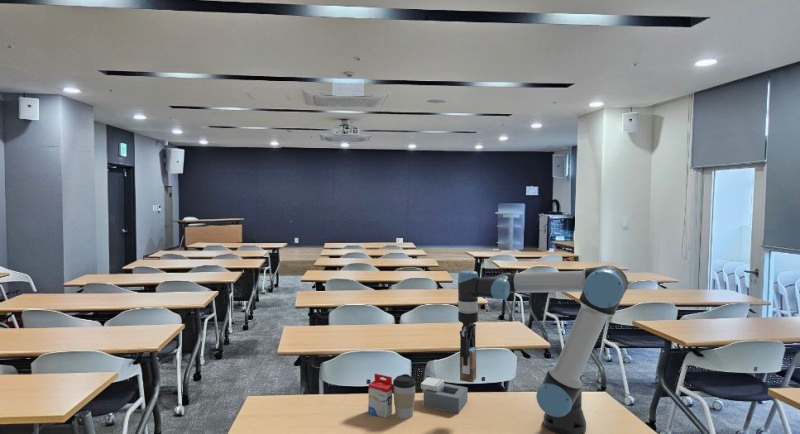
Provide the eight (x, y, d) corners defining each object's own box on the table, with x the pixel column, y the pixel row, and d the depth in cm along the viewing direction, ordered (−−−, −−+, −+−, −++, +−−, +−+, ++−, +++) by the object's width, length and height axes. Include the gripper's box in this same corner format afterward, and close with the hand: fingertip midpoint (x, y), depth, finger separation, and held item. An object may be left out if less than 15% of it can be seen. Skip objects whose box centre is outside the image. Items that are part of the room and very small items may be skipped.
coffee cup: (413, 421, 176) (413, 382, 175) (390, 419, 177) (390, 380, 177) (417, 410, 185) (417, 373, 184) (395, 408, 186) (395, 372, 186)
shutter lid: (444, 384, 195) (444, 379, 195) (437, 391, 188) (437, 385, 188) (427, 381, 199) (427, 376, 199) (420, 388, 191) (420, 382, 191)
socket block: (467, 401, 193) (467, 387, 193) (458, 413, 182) (458, 398, 182) (434, 395, 200) (434, 381, 200) (423, 406, 189) (423, 391, 189)
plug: (476, 378, 180) (476, 347, 179) (472, 382, 175) (472, 351, 175) (463, 376, 182) (463, 346, 181) (460, 380, 177) (459, 349, 177)
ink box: (367, 413, 182) (367, 377, 181) (374, 408, 186) (374, 373, 186) (386, 418, 178) (386, 381, 177) (392, 413, 182) (392, 376, 182)
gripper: (465, 305, 188) (465, 362, 188) (451, 315, 171) (451, 377, 172) (483, 307, 184) (483, 364, 185) (470, 317, 168) (471, 380, 169)
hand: (468, 370), depth 178 cm, fingers closed on plug, 5 cm apart
